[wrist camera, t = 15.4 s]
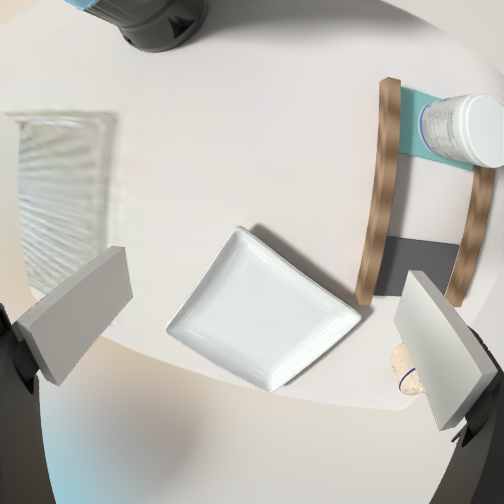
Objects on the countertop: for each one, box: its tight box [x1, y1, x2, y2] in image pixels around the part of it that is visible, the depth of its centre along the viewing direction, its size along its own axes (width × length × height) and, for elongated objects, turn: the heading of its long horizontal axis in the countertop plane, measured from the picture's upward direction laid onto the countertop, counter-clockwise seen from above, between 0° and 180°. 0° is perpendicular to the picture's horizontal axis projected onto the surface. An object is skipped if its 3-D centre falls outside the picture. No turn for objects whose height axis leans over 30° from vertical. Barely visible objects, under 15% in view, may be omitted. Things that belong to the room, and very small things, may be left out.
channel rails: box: [355, 77, 495, 307], centre depth 37 cm, size 36×22×4 cm, turn 178°
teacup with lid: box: [391, 342, 425, 395], centre depth 45 cm, size 12×9×12 cm
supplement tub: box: [418, 94, 504, 168], centre depth 27 cm, size 10×10×15 cm
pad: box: [398, 87, 474, 171], centre depth 33 cm, size 11×17×1 cm, turn 88°
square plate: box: [164, 226, 362, 393], centre depth 49 cm, size 27×27×4 cm
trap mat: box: [373, 237, 459, 296], centre depth 43 cm, size 11×17×1 cm, turn 88°
